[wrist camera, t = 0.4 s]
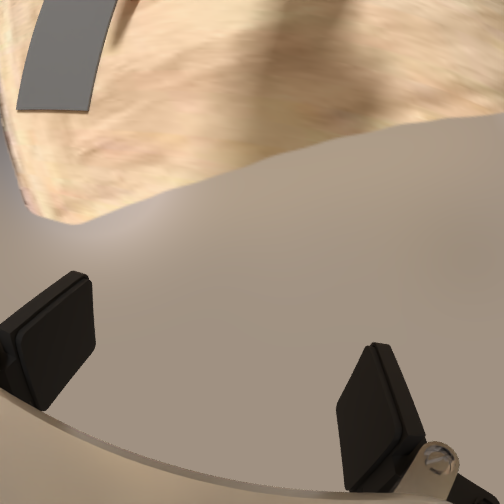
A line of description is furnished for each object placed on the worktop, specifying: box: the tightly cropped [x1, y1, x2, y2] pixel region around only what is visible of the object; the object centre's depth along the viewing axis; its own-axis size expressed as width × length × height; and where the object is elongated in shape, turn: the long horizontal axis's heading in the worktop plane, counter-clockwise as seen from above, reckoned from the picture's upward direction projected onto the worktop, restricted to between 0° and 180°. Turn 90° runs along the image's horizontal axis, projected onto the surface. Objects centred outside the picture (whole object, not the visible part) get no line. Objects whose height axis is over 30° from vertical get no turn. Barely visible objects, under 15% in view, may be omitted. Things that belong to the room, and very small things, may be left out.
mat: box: [16, 0, 117, 111], centre depth 33 cm, size 20×16×1 cm
